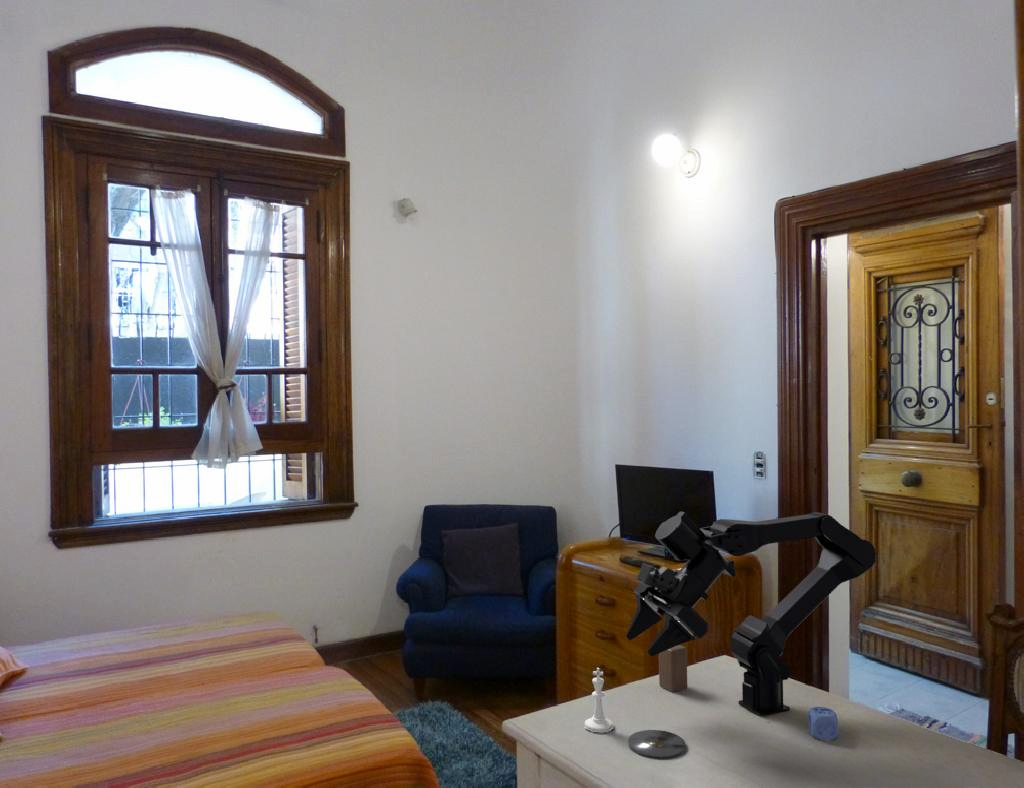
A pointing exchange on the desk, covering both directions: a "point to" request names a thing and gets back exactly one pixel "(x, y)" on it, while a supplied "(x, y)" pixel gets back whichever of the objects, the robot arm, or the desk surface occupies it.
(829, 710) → the decorative dice
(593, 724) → the chess piece
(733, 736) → the desk surface
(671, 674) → the wooden block
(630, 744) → the carrier plate
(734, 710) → the desk surface
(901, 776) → the desk surface
